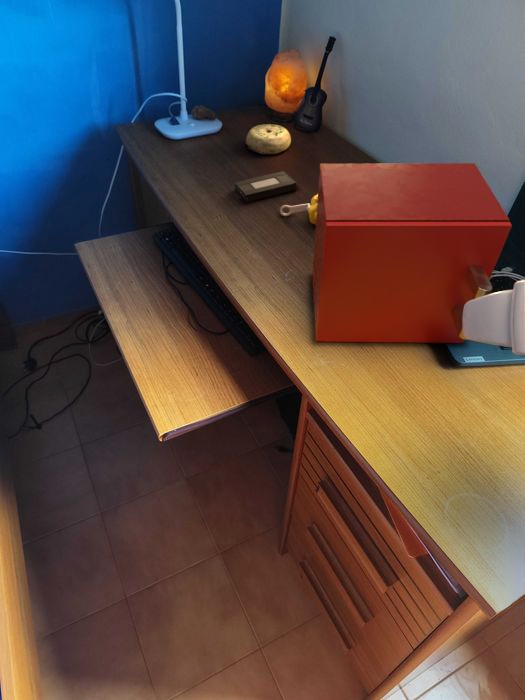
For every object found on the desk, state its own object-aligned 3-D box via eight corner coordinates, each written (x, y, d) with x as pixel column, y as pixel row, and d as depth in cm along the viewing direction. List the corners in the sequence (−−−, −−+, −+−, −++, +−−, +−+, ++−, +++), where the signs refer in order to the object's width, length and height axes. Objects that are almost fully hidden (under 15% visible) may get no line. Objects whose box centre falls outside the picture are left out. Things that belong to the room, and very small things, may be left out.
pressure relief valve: (329, 207, 115) (332, 229, 108) (281, 214, 117) (282, 237, 110) (327, 186, 111) (330, 208, 104) (278, 195, 113) (278, 217, 106)
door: (472, 368, 78) (527, 250, 61) (317, 366, 79) (328, 249, 62) (461, 339, 83) (509, 221, 66) (315, 337, 84) (325, 221, 67)
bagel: (294, 154, 137) (294, 137, 134) (249, 158, 136) (248, 140, 132) (286, 136, 146) (286, 119, 143) (244, 139, 145) (243, 122, 142)
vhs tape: (235, 189, 123) (234, 182, 122) (283, 178, 127) (283, 170, 126) (246, 202, 118) (246, 195, 117) (296, 189, 122) (296, 182, 121)
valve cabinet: (461, 338, 83) (509, 219, 66) (315, 337, 84) (325, 219, 67) (438, 277, 96) (474, 162, 78) (312, 276, 97) (320, 163, 79)
